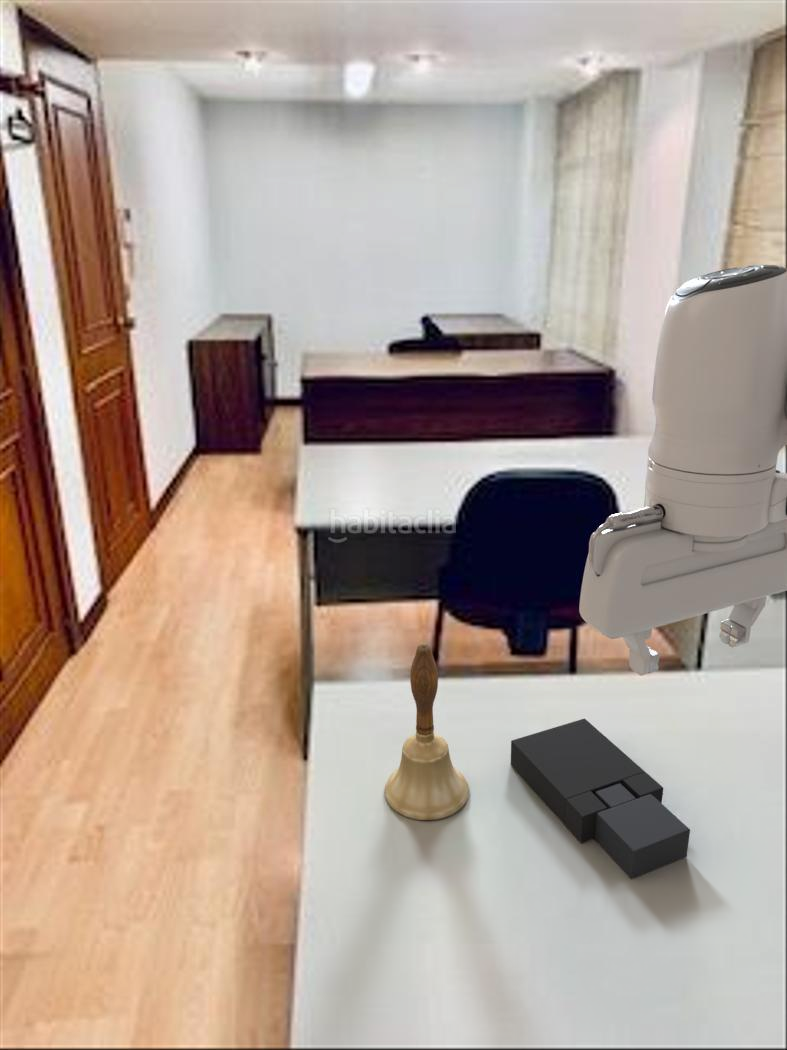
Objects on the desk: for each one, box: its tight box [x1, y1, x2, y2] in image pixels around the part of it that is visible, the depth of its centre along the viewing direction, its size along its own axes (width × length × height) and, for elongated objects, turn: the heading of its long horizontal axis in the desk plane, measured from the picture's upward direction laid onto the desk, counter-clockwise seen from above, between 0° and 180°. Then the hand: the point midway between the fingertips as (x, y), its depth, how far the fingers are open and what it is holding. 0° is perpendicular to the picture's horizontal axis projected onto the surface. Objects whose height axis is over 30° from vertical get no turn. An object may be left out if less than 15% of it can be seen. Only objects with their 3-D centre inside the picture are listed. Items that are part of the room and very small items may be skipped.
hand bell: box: [384, 643, 470, 821], centre depth 72 cm, size 8×8×16 cm
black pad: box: [510, 718, 664, 844], centre depth 74 cm, size 9×12×3 cm
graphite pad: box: [594, 784, 691, 880], centre depth 67 cm, size 6×7×3 cm
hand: (689, 656), depth 62 cm, fingers open, 8 cm apart
